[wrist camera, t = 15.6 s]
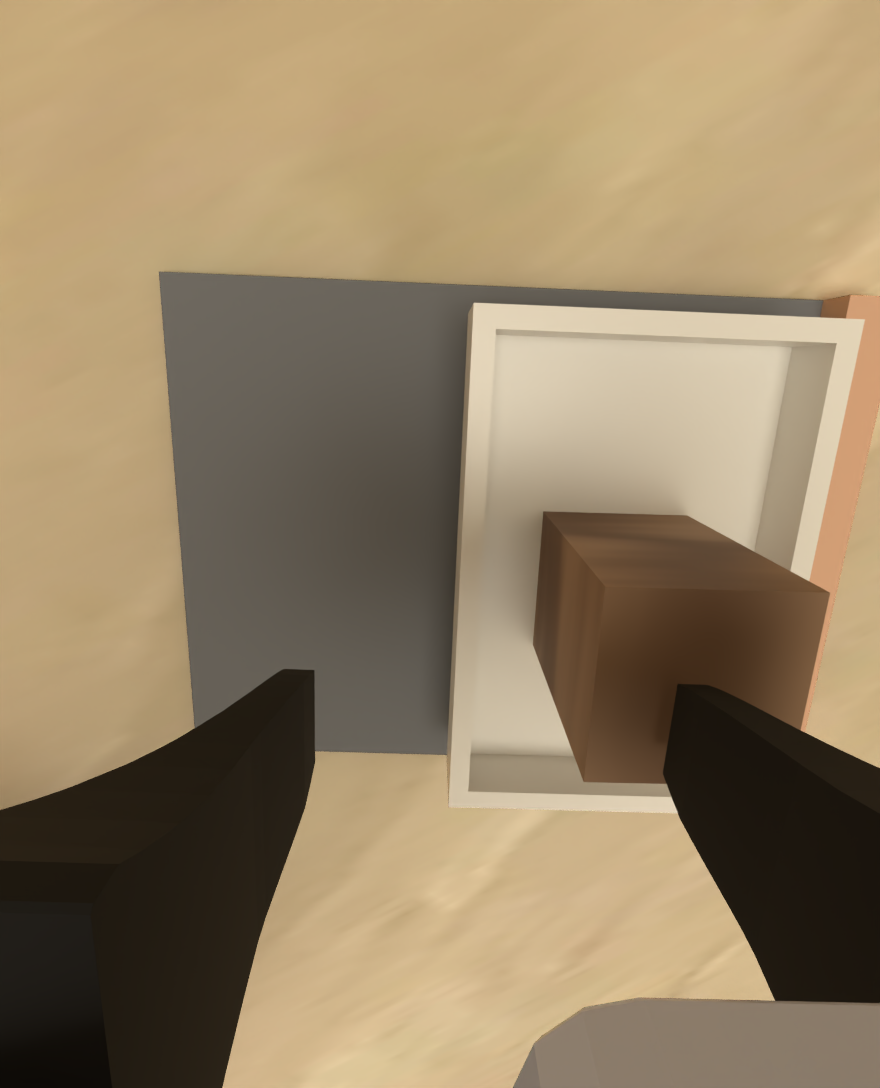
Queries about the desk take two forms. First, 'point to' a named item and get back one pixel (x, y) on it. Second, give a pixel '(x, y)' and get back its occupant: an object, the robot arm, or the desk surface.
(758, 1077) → the robot arm
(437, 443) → the thin flat board
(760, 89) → the desk surface
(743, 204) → the desk surface
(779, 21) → the desk surface
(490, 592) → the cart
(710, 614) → the walnut block
